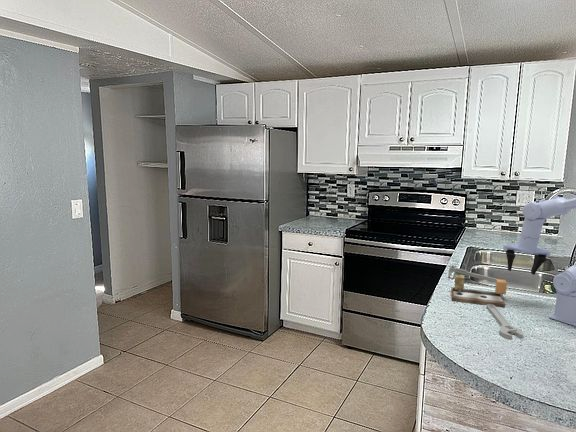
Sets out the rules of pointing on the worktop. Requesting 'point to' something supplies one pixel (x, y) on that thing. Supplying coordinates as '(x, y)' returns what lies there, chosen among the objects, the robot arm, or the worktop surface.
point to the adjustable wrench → (504, 324)
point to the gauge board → (474, 294)
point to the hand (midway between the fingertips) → (520, 271)
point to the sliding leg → (501, 287)
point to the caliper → (468, 274)
